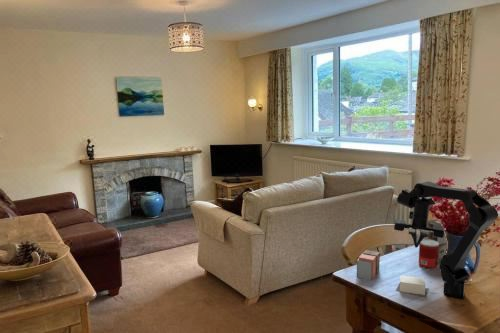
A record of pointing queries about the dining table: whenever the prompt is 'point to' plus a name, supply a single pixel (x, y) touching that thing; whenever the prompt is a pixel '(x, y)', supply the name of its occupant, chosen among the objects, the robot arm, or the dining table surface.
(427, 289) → the rubber mat
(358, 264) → the socket block
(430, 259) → the canned food
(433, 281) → the dining table surface
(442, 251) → the coffee box
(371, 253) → the walnut plug
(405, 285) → the cream rectangular block
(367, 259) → the salmon pink block
